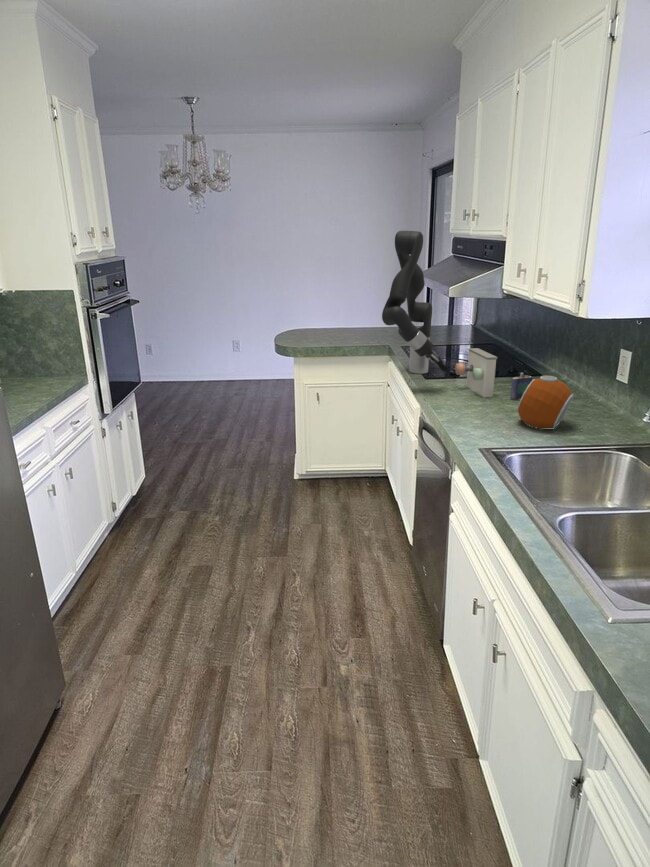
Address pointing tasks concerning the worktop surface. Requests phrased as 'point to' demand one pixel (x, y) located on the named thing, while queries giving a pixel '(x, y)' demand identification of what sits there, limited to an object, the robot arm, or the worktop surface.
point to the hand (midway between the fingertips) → (445, 370)
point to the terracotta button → (462, 368)
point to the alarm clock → (544, 402)
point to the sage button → (477, 373)
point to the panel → (488, 366)
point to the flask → (519, 386)
